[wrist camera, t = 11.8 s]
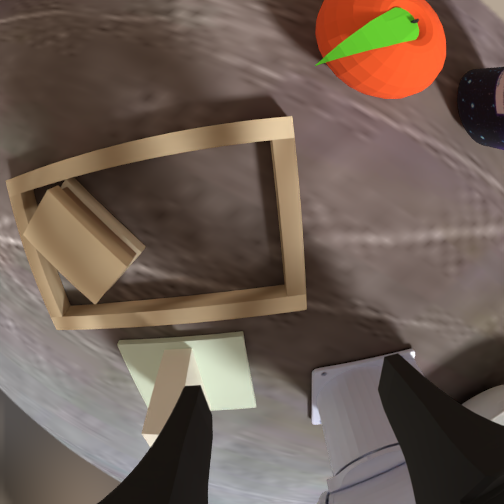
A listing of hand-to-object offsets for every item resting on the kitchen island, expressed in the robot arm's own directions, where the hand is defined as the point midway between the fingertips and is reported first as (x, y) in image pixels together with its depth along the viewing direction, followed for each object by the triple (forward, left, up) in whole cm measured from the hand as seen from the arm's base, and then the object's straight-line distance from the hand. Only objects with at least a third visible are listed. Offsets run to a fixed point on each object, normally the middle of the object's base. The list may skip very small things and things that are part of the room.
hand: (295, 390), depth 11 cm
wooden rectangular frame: (+8, -4, -10) cm, 13 cm away
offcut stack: (+12, -4, -11) cm, 16 cm away
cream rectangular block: (+8, +9, -10) cm, 15 cm away
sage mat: (+8, +9, -10) cm, 16 cm away
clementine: (-6, -14, -11) cm, 18 cm away
